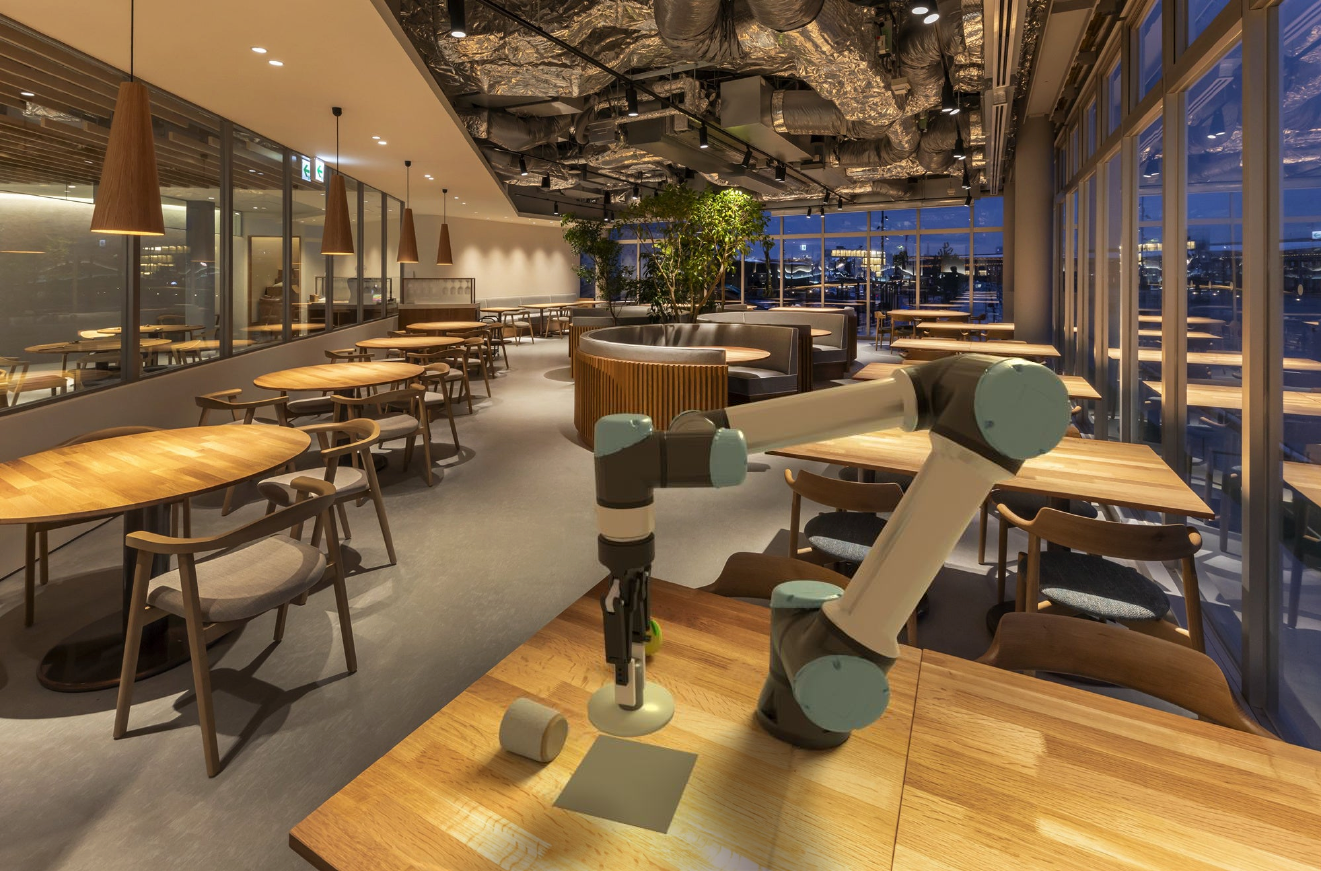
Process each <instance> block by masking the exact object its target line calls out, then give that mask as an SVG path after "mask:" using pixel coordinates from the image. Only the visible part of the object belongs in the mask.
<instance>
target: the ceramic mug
mask: <svg viewBox="0 0 1321 871" xmlns="http://www.w3.org/2000/svg"><path fill="white" fill-rule="evenodd" d="M570 728H571V725H570V723H568V720H567V717H566V716H565V715H564V714H563V713H562V712H560V711H558V710H556V709H554V708H553V707H548V706H546V705H543V704H541V703H539V702H536V701H533V700H531V699H529V698H526V697H519V698H517V699H515V700H513V702H512V703H511V704H510V705H509V706H508V708H506V710H505V712H504V713H503V716H502V719H501V721H500V726H499V731H498V740H499V745H500V746H501V748H502V749H503V750H505V751H508V752H511V753H514V754H517V755H519V756H523V757H525V758H526V757H527V758H528V759H531V760H535V761H538V762H541V763H543V762H544V763H549V762H551V761H553V760H554V759H556V758H557V757H558V756H559V755H560V753H561V751H562V750H563V749H564V746H565V743H566V741H567V737H568V735H569V732H570Z"/></svg>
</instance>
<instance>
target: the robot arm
mask: <svg viewBox="0 0 1321 871" xmlns="http://www.w3.org/2000/svg"><path fill="white" fill-rule="evenodd" d="M1071 419H1072V403H1071V400H1070V396H1069V390H1068V388H1067V386H1066V384H1065V383H1064V381H1063V380H1062V378H1060V376H1059V375H1058V374H1057V373H1056V372H1055V371H1053V370H1052V369H1050V368H1048V367H1047V366H1046V365H1042V364H1040V363H1038V362H1037V363H1036V362H1032V361H1030V360H1028V359H1025V358H1023V357H1004V356H997V355H990V354H983V353H971V352H970V353H960V354H955V355H951V356H948V357H943V358H939V359H935V360H930V361H926V362H921V363H918V364H914V365H910V366H905V367H898V368H895V369H893V371H892V372H891V374H889V377H883V378H878V379H871V380H867V381H861V382H856V383H850V384H845V385H841V386H834V387H830V388H825V389H819V390H818V389H817V390H814V391H809V392H802V393H798V394H792V395H786V396H780V397H775V398H771V399H766V400H760V401H756V402H755V401H754V402H751V403H750V402H749V403H744V404H743V403H742V404H739V405H738V404H737V405H734V406H727V407H724V408H719V409H711V410H706V411H701V410H695V409H692V410H685V411H682V412H681V413H679V414H677V415H676V416H675V417H674V418H673V420H671V422H670V425H669V427H668V430H659V429H655V428H654V425H653V420H652V418H651V417H650V416H648V415H646V414H641V413H617V414H616V413H614V414H609V415H608V414H607V415H604V416H601V417H600V418H599V419H598V420H597V421H596V423H595V424H594V435H593V436H594V438H593V439H594V440H593V443H594V445H593V461H594V462H593V463H594V465H593V466H594V478H595V480H594V481H595V482H594V484H595V496H596V497H595V501H596V505H595V506H594V508H593V511H594V513H596V522H597V525H596V526H597V531H598V533H599V534H598V535H597V557H598V562H599V563H600V564H601V565H602V566H604V567H605V568H606V569H608V570H609V572H610V573H609V577H608V582H607V583H608V584H607V585H608V586H607V588H608V590H609V592H608V595H601V596H600V598H599V604H600V608H601V612H602V623H603V624H602V625H603V637H604V638H603V640H604V650H605V651H604V654H605V663H606V664H608V665H609V664H611V665H613V681H614V687H615V703H619V704H624V705H630V706H634V705H635V703H636V696H635V659H633V658H632V657H634V658H639V659H640V660H642V662H643V689H645V687H646V681H647V680H646V675H647V674H646V654H645V644H643V642H648V643H650V641H651V635H646V631H647V632H649V630H650V618H651V578H652V577H651V575H652V568H653V567H652V563H653V562H654V560H655V558H656V548H655V547H656V546H655V545H656V543H655V542H656V540H655V539H656V538H655V537H656V536H655V533H654V532H653V531H654V530H655V528H656V521H655V520H656V519H655V518H656V517H655V499H654V496H655V495H654V492H655V491H654V490H655V489H694V488H696V489H697V488H698V489H699V488H700V489H704V488H706V489H707V488H708V489H709V488H710V489H711V488H714V489H718V490H719V489H722V488H728V487H738V486H741V485H742V484H743V483H744V482H745V481H746V478H747V472H748V456H750V455H756V454H760V453H767V452H772V451H778V450H783V449H787V448H793V447H799V446H804V445H810V444H816V443H820V442H826V441H832V440H838V439H843V438H849V437H854V436H859V435H864V434H869V433H876V432H881V431H886V430H892V429H898V428H899V429H901V430H902V431H903V432H905V433H908V434H909V433H913V432H918V431H919V432H921V431H928V436H929V437H928V438H929V440H930V443H931V445H930V446H931V451H930V453H929V454H928V456H927V458H926V459H925V460H924V462H923V464H922V465H921V466H920V469H919V470H918V472H917V474H916V475H915V476H914V478H913V480H912V482H911V483H910V485H909V487H908V488H907V489H906V491H905V492H904V495H903V496H902V498H901V499H900V501H899V503H898V504H897V505H896V507H895V509H894V511H893V512H892V514H891V516H890V517H889V519H888V521H887V522H886V524H885V525H884V527H882V530H881V532H880V533H879V535H878V536H877V538H876V540H875V541H874V542H873V544H872V546H871V547H870V550H869V551H868V552H867V555H866V556H865V558H864V559H863V561H862V562H861V564H860V566H859V567H858V569H857V571H856V572H855V573H854V575H853V577H852V578H851V580H850V582H849V583H848V585H847V586H846V588H845V590H844V589H843V588H842V587H839V586H837V585H835V584H832V583H828V582H825V581H817V580H792V581H786V582H783V583H780V584H778V585H776V586H775V587H774V588H773V590H772V591H771V600H770V603H769V607H770V622H769V624H770V626H769V628H770V629H769V660H768V661H769V663H768V664H769V668H768V674H767V676H766V679H765V681H764V683H763V686H762V689H761V692H760V694H759V696H758V699H757V704H756V705H757V707H756V709H757V710H756V717H757V720H758V723H759V725H760V726H761V728H762V729H763V730H764V731H765V732H766V733H767V734H768V735H770V736H771V737H773V738H774V739H776V740H777V741H780V742H783V743H785V744H787V745H790V746H791V747H792V748H797V749H803V750H826V749H830V748H833V747H837V746H839V745H841V744H843V743H845V741H847V739H849V737H850V736H851V734H852V731H853V730H857V731H860V730H862V729H864V728H865V729H866V728H867V727H869V726H871V725H872V724H874V723H875V722H877V721H878V720H879V719H880V718H881V717H882V716H883V714H885V711H886V710H887V708H888V705H889V703H890V700H891V699H890V698H891V691H890V684H889V679H888V678H887V676H888V674H889V673H890V671H891V669H892V667H893V666H894V664H895V663H896V661H897V660H898V658H899V657H900V655H901V651H900V647H899V643H898V640H897V637H898V635H899V633H900V632H901V630H902V629H903V627H904V626H905V624H906V623H907V621H908V620H909V618H910V616H911V615H912V613H913V612H914V610H915V609H916V607H917V606H918V604H919V602H920V600H921V599H922V598H923V596H924V594H925V593H926V591H927V589H928V588H929V587H930V585H931V583H933V580H934V579H935V577H936V576H937V574H938V573H939V571H940V570H941V568H942V566H943V565H944V563H945V562H946V560H947V558H948V557H949V556H950V554H951V552H952V551H953V550H954V548H955V546H956V544H958V542H959V540H960V539H961V537H962V535H964V532H965V531H966V529H967V527H968V526H969V524H970V523H971V521H972V519H973V518H974V517H975V515H976V514H977V513H978V510H979V509H980V507H981V505H982V504H983V503H984V501H985V500H986V498H987V497H988V495H989V493H990V492H991V490H992V488H993V487H994V485H995V484H998V483H1000V482H1004V481H1007V480H1012V479H1015V477H1016V476H1017V474H1018V473H1019V471H1020V470H1021V468H1022V467H1023V465H1024V464H1025V462H1026V460H1031V459H1036V458H1037V457H1040V456H1042V455H1047V454H1048V453H1049V452H1051V451H1053V450H1054V449H1055V448H1056V447H1057V446H1058V445H1059V444H1060V443H1061V442H1062V440H1063V439H1064V437H1065V436H1066V434H1067V432H1068V429H1069V426H1070V423H1071Z"/></svg>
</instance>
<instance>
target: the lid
mask: <svg viewBox="0 0 1321 871" xmlns="http://www.w3.org/2000/svg"><path fill="white" fill-rule="evenodd" d="M632 658H633V659H635V696H636V703H635V705H634V706H630V705H624V704H619V703H615V687H614V682H611V683H608V684H606V685H604V686H601V687H599V688H598V689H597V690H595V692H593V693H592V694H591V696H590V698H589V699H588V701H587V705H586V706H587V718H588V721H589V722H590V724H591V725H592V726H593V727H594V728H595V729H596V730H598V731H600V732H601V733H604V734H605V735H608V736H611V737H616V738H638V737H639V738H640V737H643V736H647V735H651V734H654V733H657V732H658V731H660V730H662V729H663V728H665V727H667V725H668V724H669V723H671V721H672V720H673V718H674V715H675V699H674V697H673V694H671V692H670V691H669V690H668V689H667V688H665V687H664V686H663V685H660V684H658V683H657V682H652V681H649V680H646V687H645V689H643V662H642V660H640V659H639V658H634V657H632Z"/></svg>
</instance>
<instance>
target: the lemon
mask: <svg viewBox="0 0 1321 871" xmlns="http://www.w3.org/2000/svg"><path fill="white" fill-rule="evenodd" d="M659 624H660V623H658V622H657V620H654V619H652V618H651V617H650V630H649V632H647V631H646V635H651V641H650V643H648V642H643V644H645V656H646V657H650V656H651V655H653V654H656V653H657V652H659V650H661V647H662V645H663V643H664V642H663V641H664V640H663V631H662V627H661V626H660V625H659Z"/></svg>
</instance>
